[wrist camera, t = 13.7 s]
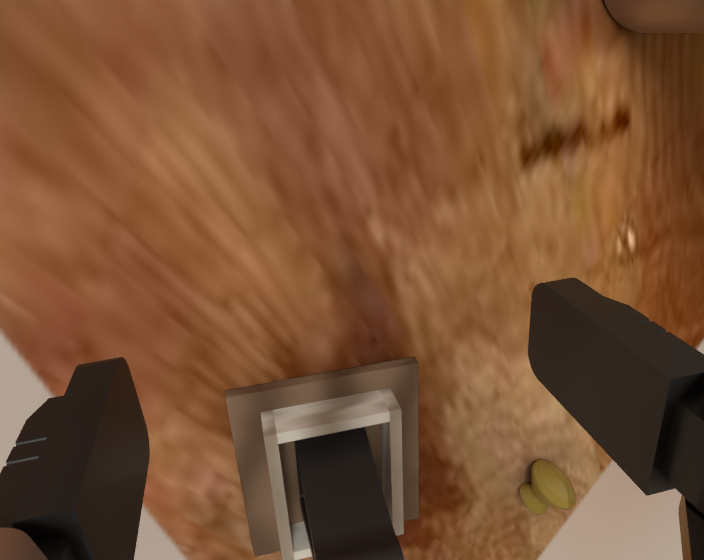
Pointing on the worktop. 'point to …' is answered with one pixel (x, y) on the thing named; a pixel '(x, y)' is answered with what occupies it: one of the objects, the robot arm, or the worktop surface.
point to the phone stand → (344, 499)
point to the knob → (547, 488)
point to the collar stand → (315, 420)
